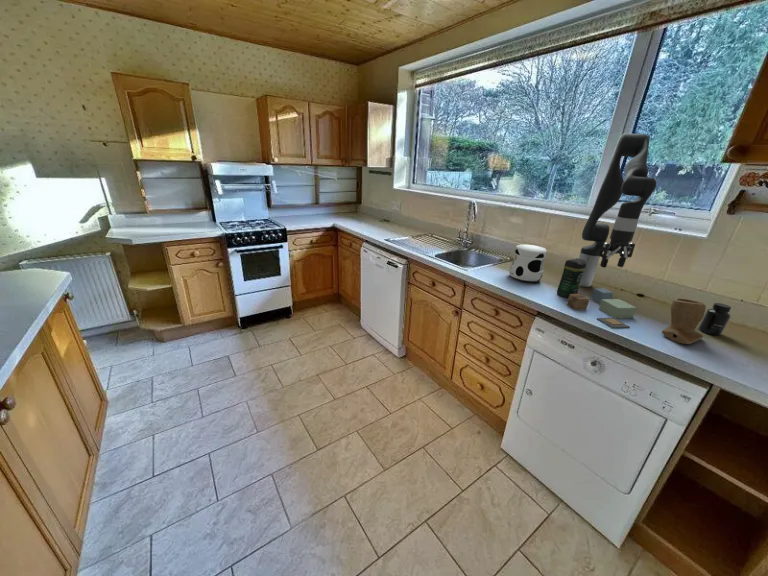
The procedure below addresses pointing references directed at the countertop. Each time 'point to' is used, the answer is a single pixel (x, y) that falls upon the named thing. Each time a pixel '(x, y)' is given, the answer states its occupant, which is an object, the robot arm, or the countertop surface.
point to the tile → (613, 322)
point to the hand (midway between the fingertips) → (611, 266)
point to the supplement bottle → (715, 319)
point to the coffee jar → (571, 277)
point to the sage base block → (617, 308)
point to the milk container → (528, 263)
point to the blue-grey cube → (601, 294)
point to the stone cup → (685, 320)
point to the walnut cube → (578, 301)
